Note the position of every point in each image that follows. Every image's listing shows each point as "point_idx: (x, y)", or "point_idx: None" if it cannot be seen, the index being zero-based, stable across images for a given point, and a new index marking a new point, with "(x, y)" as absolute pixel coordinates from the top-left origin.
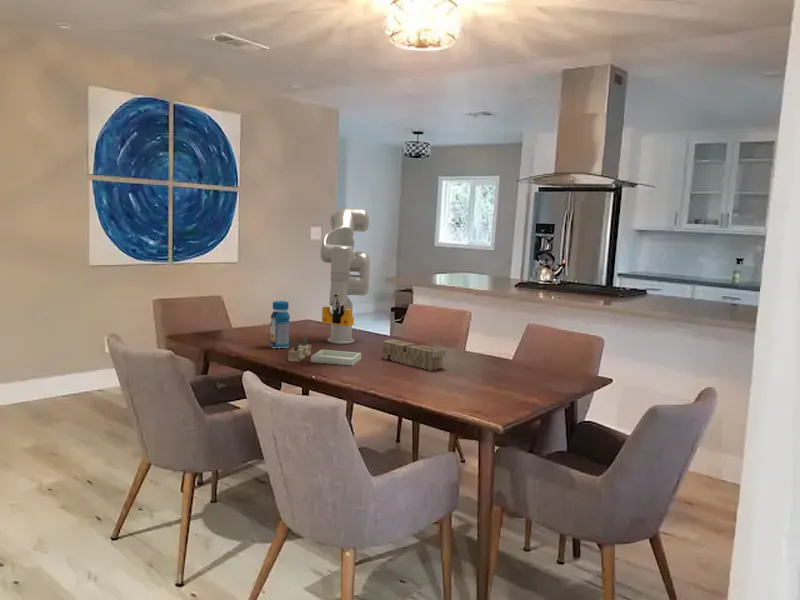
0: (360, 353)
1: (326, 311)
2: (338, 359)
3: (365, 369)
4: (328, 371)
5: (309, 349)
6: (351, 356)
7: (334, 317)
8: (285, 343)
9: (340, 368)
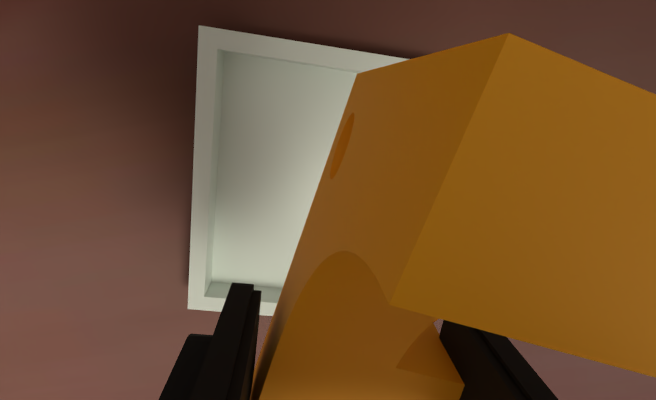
0: None
1: (360, 223)
2: (192, 225)
3: (146, 356)
4: (8, 187)
5: None
6: None
7: (169, 384)
8: None
9: (115, 239)
